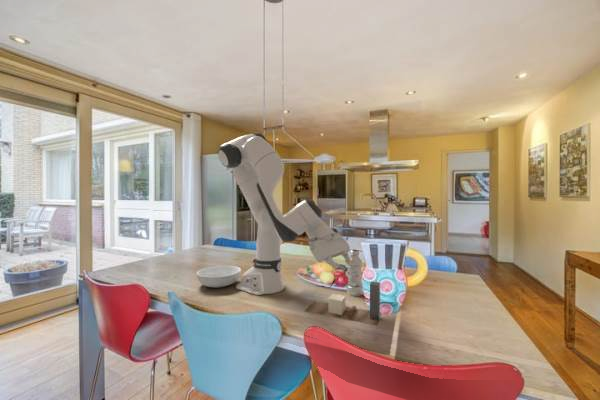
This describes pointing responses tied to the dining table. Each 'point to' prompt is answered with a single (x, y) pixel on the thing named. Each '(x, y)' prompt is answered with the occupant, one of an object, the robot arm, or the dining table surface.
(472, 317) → the dining table surface
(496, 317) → the dining table surface
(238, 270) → the serving bowl
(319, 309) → the walnut strip
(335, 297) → the cream cube
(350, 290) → the plastic bottle
